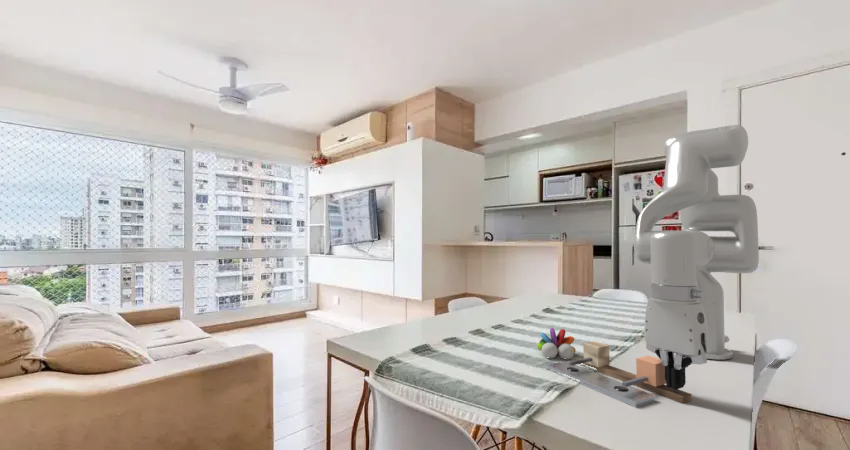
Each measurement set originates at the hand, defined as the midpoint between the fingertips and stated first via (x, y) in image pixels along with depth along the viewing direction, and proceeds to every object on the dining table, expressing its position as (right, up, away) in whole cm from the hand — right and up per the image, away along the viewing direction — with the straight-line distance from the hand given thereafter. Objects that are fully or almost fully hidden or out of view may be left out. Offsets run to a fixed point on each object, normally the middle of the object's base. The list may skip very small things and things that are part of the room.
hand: (675, 386), depth 73 cm
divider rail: (-8, -2, +7) cm, 11 cm away
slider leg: (-5, -1, +2) cm, 6 cm away
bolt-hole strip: (-13, -2, +7) cm, 15 cm away
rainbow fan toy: (-14, -3, +26) cm, 30 cm away
